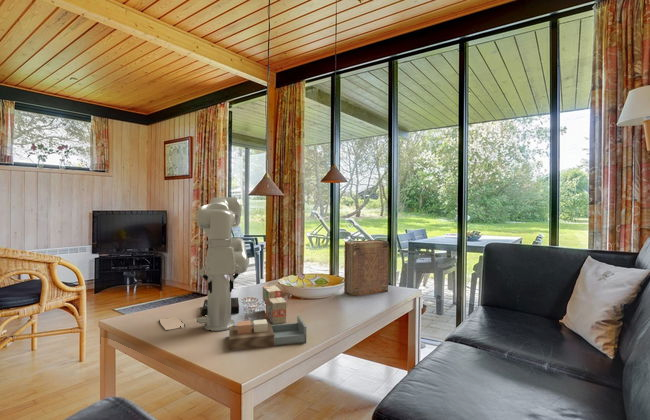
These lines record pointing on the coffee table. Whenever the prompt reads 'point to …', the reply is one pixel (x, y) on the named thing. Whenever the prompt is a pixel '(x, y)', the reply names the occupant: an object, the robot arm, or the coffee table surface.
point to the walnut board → (250, 338)
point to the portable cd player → (233, 307)
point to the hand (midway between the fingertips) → (220, 291)
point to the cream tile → (260, 325)
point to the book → (366, 267)
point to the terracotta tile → (244, 327)
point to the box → (289, 333)
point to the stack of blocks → (274, 304)
